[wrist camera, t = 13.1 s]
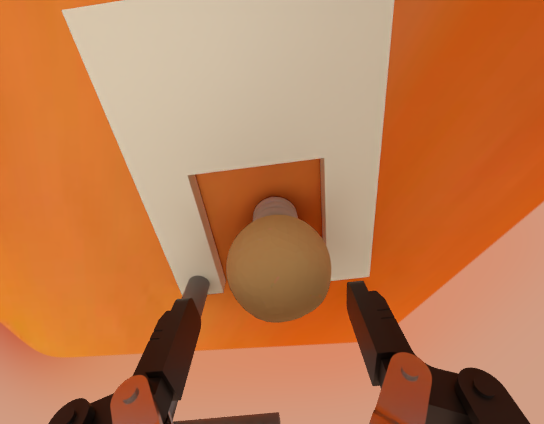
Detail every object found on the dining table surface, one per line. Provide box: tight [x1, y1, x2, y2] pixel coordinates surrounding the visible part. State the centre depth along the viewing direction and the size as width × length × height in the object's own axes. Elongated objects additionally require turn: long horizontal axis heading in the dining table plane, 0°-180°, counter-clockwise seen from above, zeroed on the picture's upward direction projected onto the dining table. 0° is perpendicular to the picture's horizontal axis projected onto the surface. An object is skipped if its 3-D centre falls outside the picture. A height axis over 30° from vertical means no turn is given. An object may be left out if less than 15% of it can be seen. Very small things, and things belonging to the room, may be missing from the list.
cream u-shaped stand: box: [62, 0, 394, 424], centre depth 13 cm, size 18×22×14 cm
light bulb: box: [226, 197, 331, 322], centre depth 17 cm, size 6×6×10 cm
